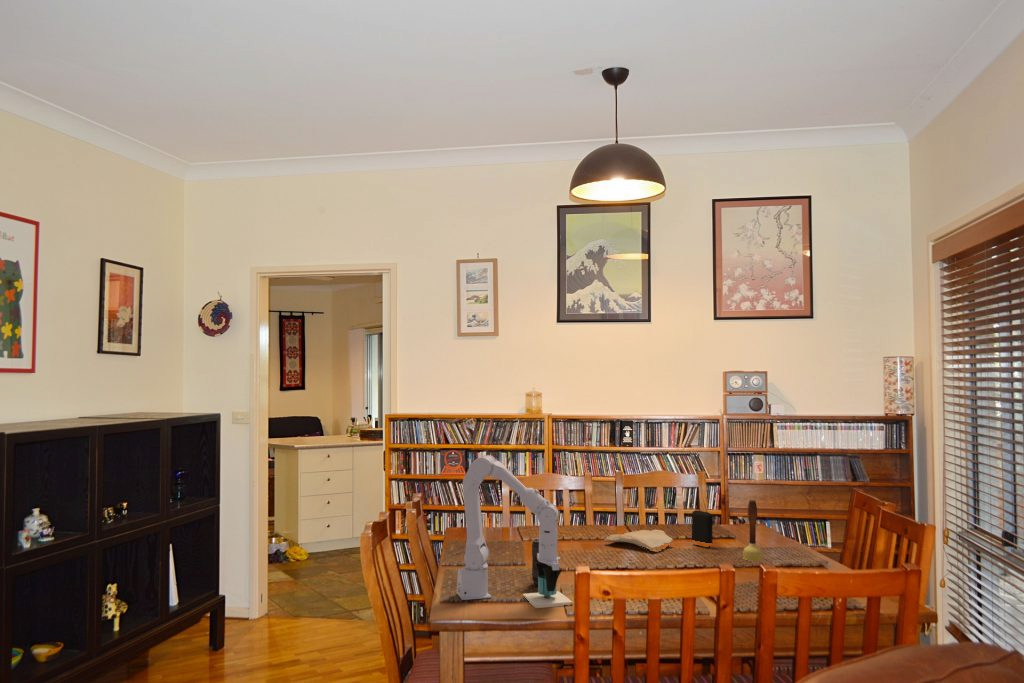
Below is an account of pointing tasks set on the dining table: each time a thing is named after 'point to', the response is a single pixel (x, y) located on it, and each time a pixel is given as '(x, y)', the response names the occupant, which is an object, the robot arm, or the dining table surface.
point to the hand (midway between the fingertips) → (547, 588)
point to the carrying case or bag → (702, 526)
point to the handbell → (752, 535)
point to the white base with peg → (547, 600)
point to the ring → (544, 586)
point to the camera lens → (534, 559)
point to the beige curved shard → (642, 538)
